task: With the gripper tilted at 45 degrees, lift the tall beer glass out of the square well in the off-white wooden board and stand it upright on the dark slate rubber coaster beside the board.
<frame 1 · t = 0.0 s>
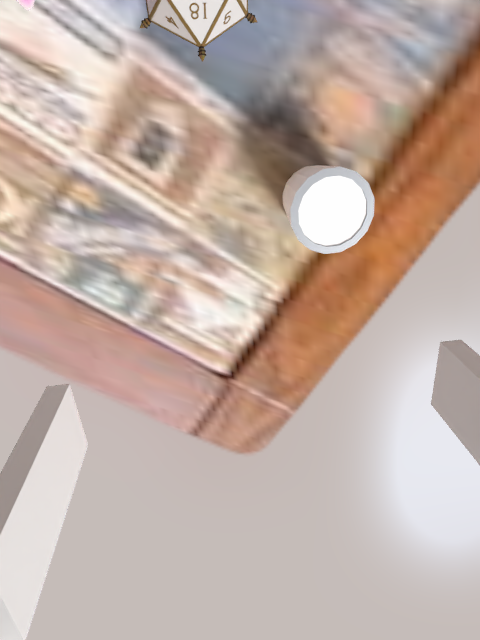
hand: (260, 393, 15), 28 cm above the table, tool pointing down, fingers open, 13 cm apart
shot glass: (311, 196, 41), on the table
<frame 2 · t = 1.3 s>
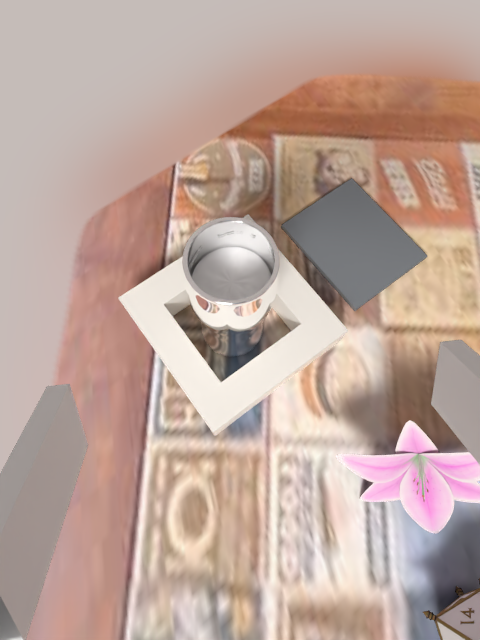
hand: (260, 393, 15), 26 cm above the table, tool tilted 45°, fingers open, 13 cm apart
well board: (232, 327, 43), on the table
lily: (399, 473, 39), on the table
game die: (464, 627, 35), on the table
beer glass: (232, 327, 43), resting in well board
slate coaster: (352, 242, 46), on the table
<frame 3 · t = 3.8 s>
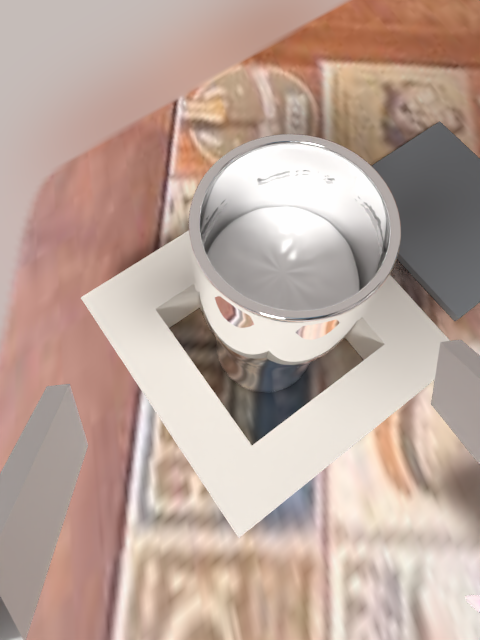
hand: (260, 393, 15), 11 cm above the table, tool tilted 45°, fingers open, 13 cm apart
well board: (264, 345, 27), on the table
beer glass: (264, 345, 28), resting in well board
slate coaster: (444, 216, 31), on the table
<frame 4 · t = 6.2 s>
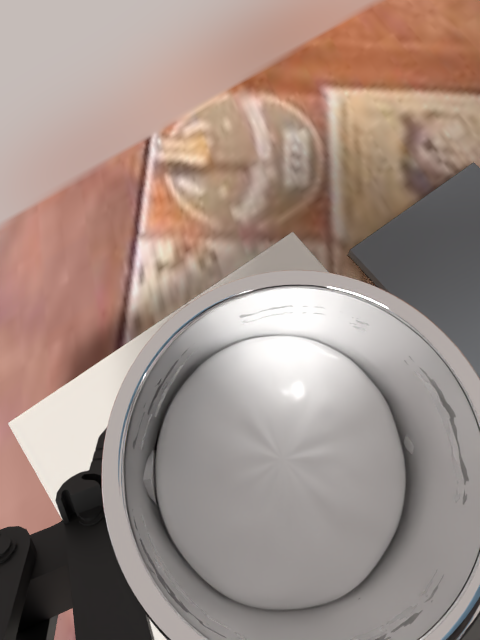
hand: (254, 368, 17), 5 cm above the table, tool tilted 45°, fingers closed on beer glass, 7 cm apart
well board: (259, 463, 21), on the table
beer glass: (259, 463, 21), resting in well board, touching gripper
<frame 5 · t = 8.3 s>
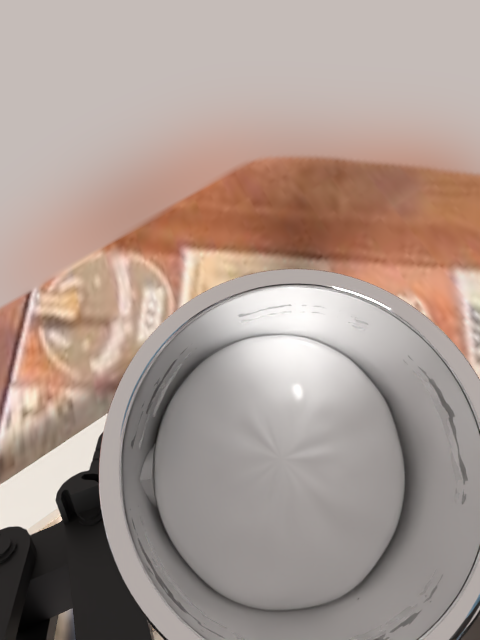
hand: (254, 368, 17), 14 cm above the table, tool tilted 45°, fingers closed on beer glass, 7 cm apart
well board: (83, 588, 27), on the table
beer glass: (259, 463, 21), point 9 cm above the table, touching gripper
when the fingers open (7 cm above the table, at t = 10.6 s): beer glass drops 1 cm, resting on slate coaster.
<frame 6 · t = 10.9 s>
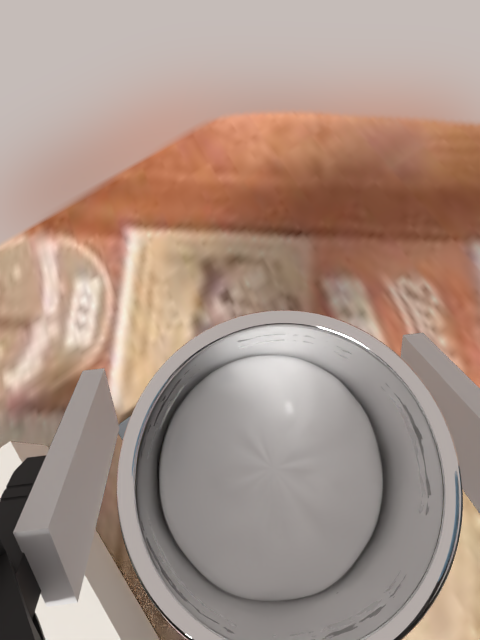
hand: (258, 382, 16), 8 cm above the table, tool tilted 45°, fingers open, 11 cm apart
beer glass: (254, 464, 23), resting on slate coaster
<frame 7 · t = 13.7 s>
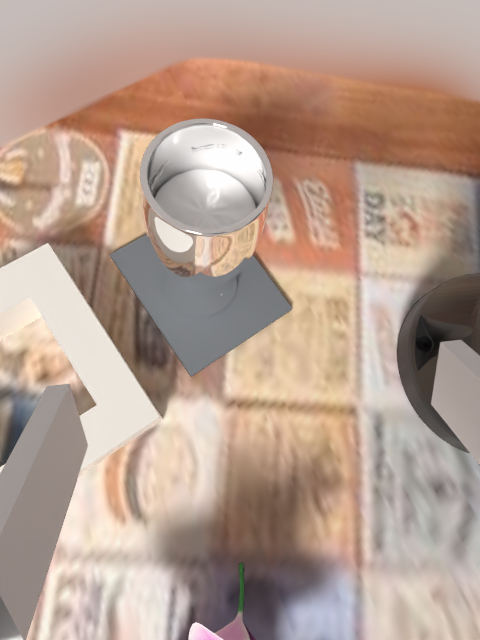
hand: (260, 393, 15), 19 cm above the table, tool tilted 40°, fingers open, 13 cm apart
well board: (22, 393, 32), on the table
lily: (224, 628, 30), on the table
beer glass: (200, 282, 36), resting on slate coaster
slate coaster: (201, 284, 36), on the table
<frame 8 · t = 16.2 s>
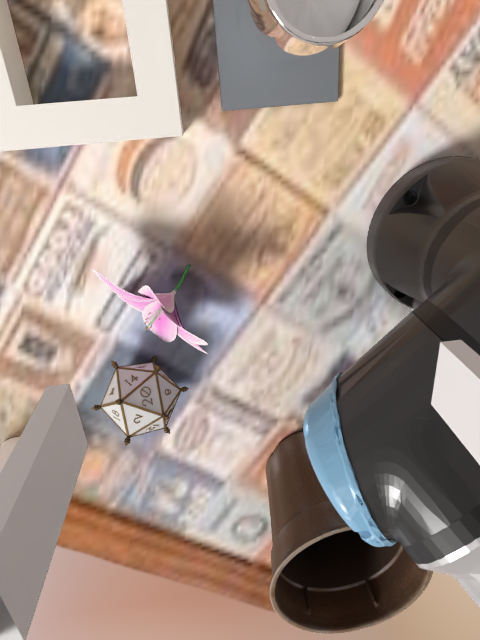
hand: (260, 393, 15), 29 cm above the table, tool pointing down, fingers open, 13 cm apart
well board: (75, 38, 34), on the table
plant pot: (312, 461, 56), on the table
lily: (161, 292, 44), on the table
game die: (145, 375, 48), on the table
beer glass: (275, 21, 34), resting on slate coaster
shot glass: (24, 454, 52), on the table
slate coaster: (276, 23, 35), on the table
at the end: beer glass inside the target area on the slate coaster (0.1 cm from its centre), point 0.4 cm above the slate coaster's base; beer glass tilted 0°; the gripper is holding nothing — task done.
